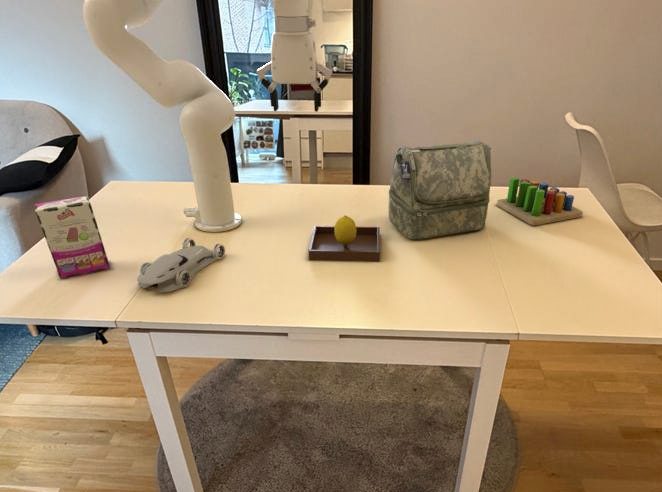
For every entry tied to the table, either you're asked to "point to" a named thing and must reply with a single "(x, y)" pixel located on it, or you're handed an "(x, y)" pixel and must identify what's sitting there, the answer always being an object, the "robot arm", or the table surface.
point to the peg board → (538, 203)
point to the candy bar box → (72, 236)
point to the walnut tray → (332, 250)
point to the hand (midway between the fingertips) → (296, 110)
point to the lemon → (345, 230)
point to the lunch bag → (440, 189)
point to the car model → (178, 267)
